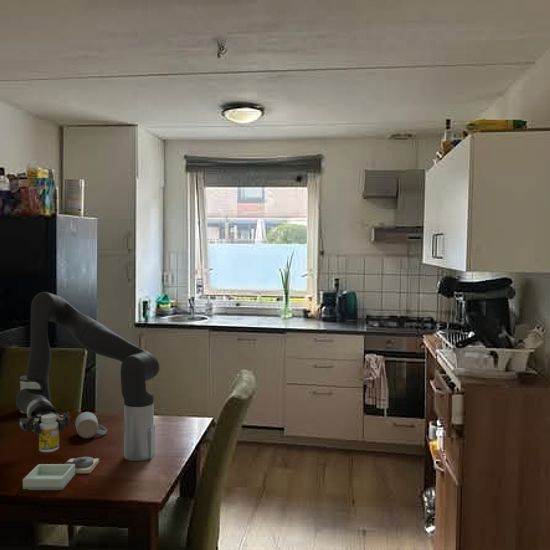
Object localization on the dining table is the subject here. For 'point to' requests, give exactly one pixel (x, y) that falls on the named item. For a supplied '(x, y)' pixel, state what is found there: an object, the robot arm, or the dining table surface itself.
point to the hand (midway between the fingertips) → (50, 429)
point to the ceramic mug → (88, 425)
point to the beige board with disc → (83, 464)
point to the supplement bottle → (49, 433)
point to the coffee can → (27, 384)
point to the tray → (49, 477)
